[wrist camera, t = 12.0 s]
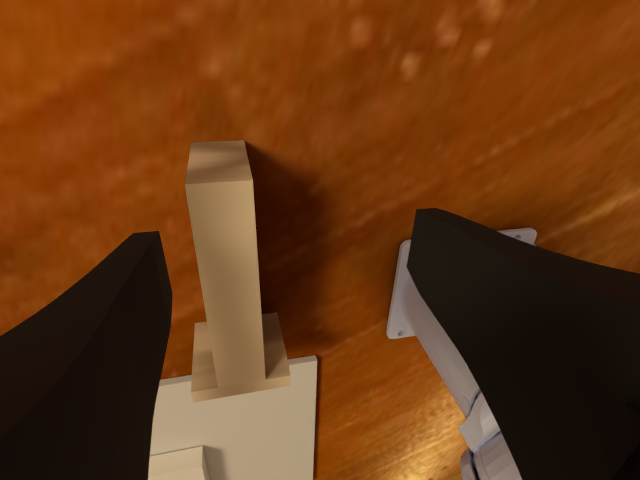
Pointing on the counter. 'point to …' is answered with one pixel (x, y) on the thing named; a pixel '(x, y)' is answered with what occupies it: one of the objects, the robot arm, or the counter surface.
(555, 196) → the counter surface
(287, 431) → the mat
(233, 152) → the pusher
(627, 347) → the robot arm
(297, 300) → the counter surface
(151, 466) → the tile
